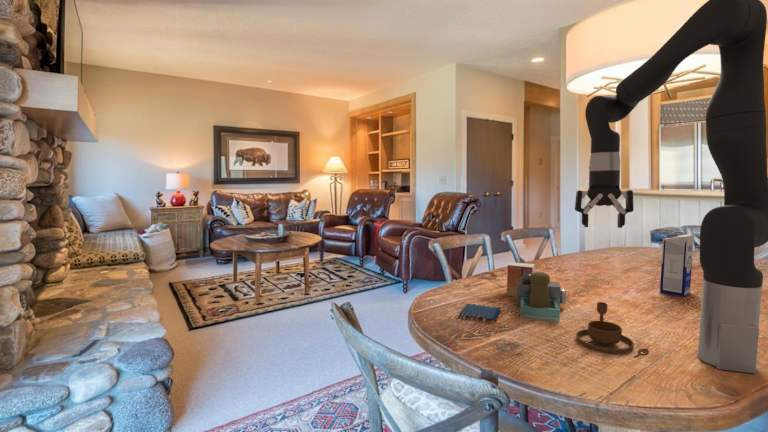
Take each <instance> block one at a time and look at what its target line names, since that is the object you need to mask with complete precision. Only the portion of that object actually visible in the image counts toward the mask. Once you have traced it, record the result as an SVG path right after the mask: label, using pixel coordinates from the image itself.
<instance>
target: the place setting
mask: <svg viewBox="0 0 768 432" xmlns="http://www.w3.org/2000/svg"><path fill="white" fill-rule="evenodd" d="M596 312H597V313H598V314H599V319H598V320H591V321H589V322H588V324H587V329H585V328H586V326H579V328H582V329H581V330H578V331H577V332H576V334H575V338H576V340H577V342H578V344H580V345H581V344H582V345H581V346H583V347H585V348H587V349H588V350H592V351H596V352H598V351H599V353H602V354H603V353H604V354H611V355H618V354H619V355H622V354H623V353H624V354H627V353H628V354H629V353H630V352H631V351H632V350H633V349H634V346H635V344H634V343H635V342H634V341H633V340H632V339H630V338H629V337H627V336H625V335H623V334H622V333H623V331H622V330H623V328H622V327H621V325H619V324H617V323H614V322H609V321H605V320H604V319H605V318H604V315H605V314H607V312H608V303H606V302H603V301H602V302H601V301H600V302H599V301H598V302H597V303H596ZM587 336H589V338H590V339H591V340H592V341H594V343H595V344H596V345H593V344H591V343H588V342H586V341H584V340H582V339H581V338H583V337H587ZM620 341H621V342H623V343H625V344H626V345H627V344H628V345H629V346H628V347H625V348H612V347H613V346H615V345H616V344H619V343H620ZM597 345H599V346H597ZM606 347H607V348H606ZM609 347H611V348H609ZM641 352H643V353H645V354H643V353H641ZM649 352H650V351H649V349H648V348H640V349H638V350H637V354H636V355H634V356H633V358H634V359H637V358H638V357H640V356H646V355H649ZM624 354H623V355H624Z"/></svg>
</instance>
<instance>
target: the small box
mask: <svg viewBox="0 0 768 432" xmlns="http://www.w3.org/2000/svg"><path fill="white" fill-rule="evenodd" d="M535 269H536V264H535V263H524V262H512V261H510V262H509V263H508V264H507V273H506V274H507V275H506V296H508V297H516V298H517V279H521V280H523V274H524V273H530V274H532V273H535V272H536V271H535Z"/></svg>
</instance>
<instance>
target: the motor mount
mask: <svg viewBox="0 0 768 432" xmlns="http://www.w3.org/2000/svg"><path fill="white" fill-rule="evenodd" d="M530 277H531V274H530V273H524V274H523V280H521V279H517V297H516V307H517V308H519V309H520V310H519V315H520V316H519V317H520V318H519V319H520V320H527V321H528V320H529V321H540V322H547V323H549V322H550V323H558V324H559V323H561V320H560V318H561V305H565V304H566V302H567V291H566V288H561V284H560V282H559V281H550V283H549V284H548V293H549V301H550V308H543V307H532V306H529V301H530V295H531V289H532V283H531V280H530Z"/></svg>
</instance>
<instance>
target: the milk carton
mask: <svg viewBox="0 0 768 432" xmlns="http://www.w3.org/2000/svg"><path fill="white" fill-rule="evenodd" d="M694 237H695V234H693V233H692V234H690V233H689V234H681V235H678V233H675V232H674V233H669V234H666V238H663V239H662V248H661V249H662V251H661V266H660V267H661V268H660V281H659V282H660V285H659V293H662V294H667V295H673V296H678V297H686V296H687V295H689V294H690V293H691V286H692V285H691V284H692V283H691V282H692V281H691V280H692V269H693V268H692V266H693V254H694V239H695V238H694Z"/></svg>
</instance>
